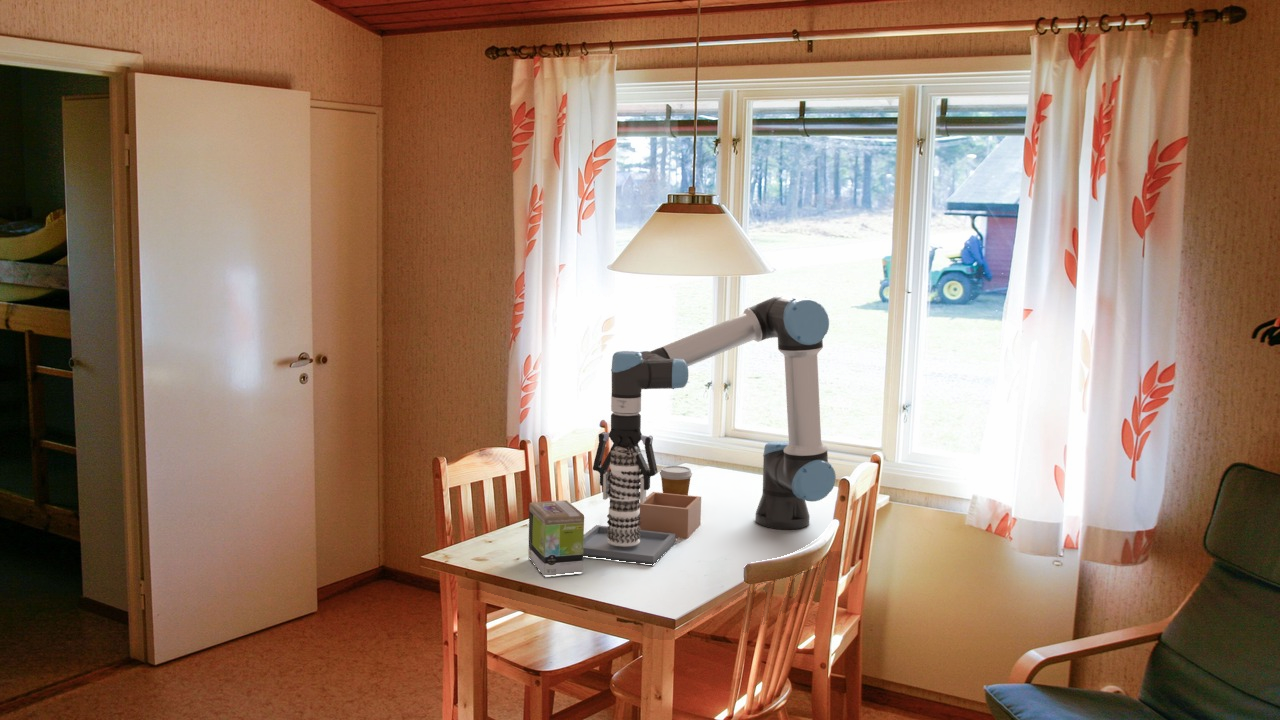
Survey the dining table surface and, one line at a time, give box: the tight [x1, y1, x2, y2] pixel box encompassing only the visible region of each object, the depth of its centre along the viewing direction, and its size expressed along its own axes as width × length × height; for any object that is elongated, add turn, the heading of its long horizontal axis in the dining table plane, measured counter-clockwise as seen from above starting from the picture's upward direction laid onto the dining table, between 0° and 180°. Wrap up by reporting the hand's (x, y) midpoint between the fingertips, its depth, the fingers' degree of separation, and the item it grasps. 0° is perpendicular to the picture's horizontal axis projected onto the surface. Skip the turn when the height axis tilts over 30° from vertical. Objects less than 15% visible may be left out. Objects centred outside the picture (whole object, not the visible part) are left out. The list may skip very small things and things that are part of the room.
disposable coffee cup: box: [659, 465, 693, 495], centre depth 304 cm, size 10×10×12 cm
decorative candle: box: [606, 446, 643, 547], centre depth 264 cm, size 9×9×25 cm
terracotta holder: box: [639, 491, 702, 539], centre depth 284 cm, size 14×14×8 cm
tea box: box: [528, 499, 585, 575], centre depth 250 cm, size 15×10×15 cm, turn 21°
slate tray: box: [583, 524, 676, 565], centre depth 266 cm, size 22×20×2 cm
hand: (624, 500), depth 264 cm, fingers open, 9 cm apart
